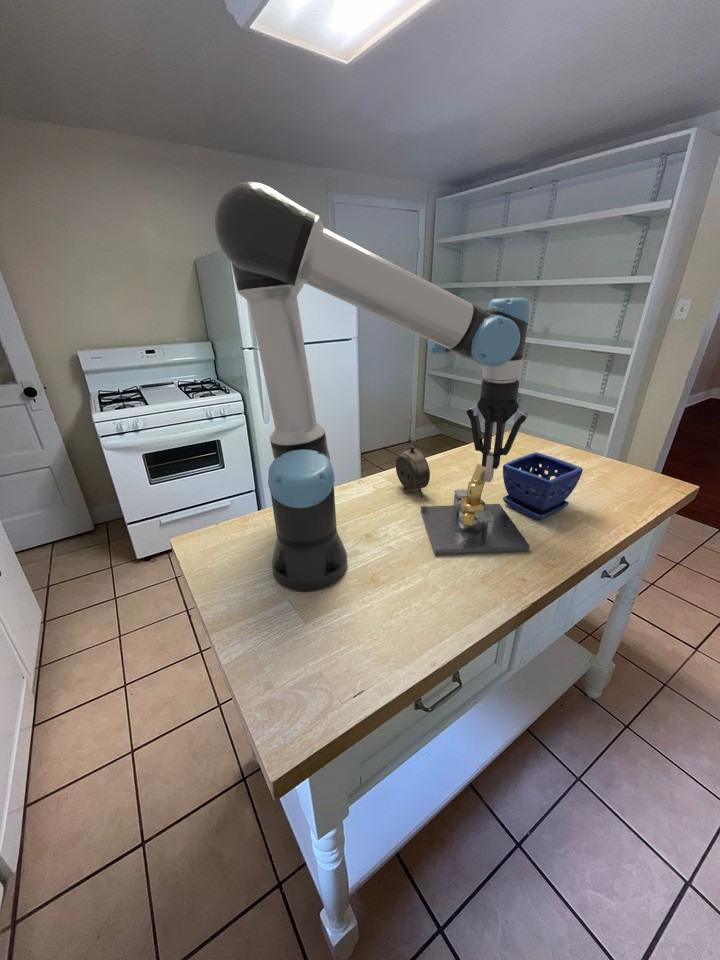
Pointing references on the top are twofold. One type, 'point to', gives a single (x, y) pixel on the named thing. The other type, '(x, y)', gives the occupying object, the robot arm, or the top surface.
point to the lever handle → (474, 496)
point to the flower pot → (539, 484)
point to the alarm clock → (412, 469)
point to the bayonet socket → (471, 530)
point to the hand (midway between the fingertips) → (488, 479)
